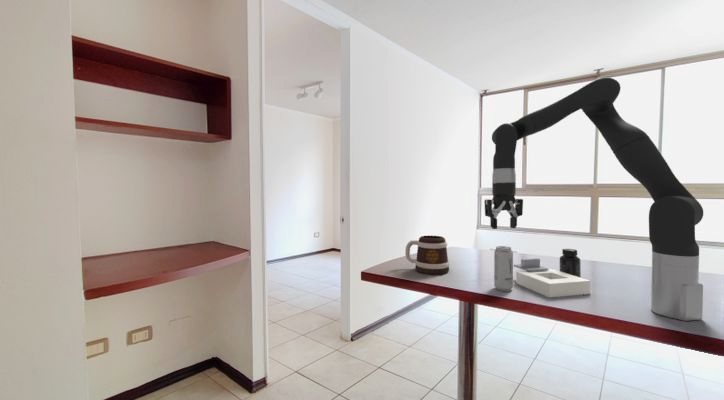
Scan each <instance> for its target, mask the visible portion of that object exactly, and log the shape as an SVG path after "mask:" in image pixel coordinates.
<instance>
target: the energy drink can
mask: <svg viewBox="0 0 724 400" xmlns="http://www.w3.org/2000/svg"><path fill="white" fill-rule="evenodd" d="M493 253H494V255H493V257H494V261H493V262H494V263H493V264H494V265H493V268H494V269H493V270H494V271H493V274H494V275H493V276H494V278H493V281H494V284H493V285H494V287H495V289H496V290H498V291H501V292H511V291H512V289H513V287H514V286H513V285H514V252H513V249H512V247H511V246H508V245H507V246H506V245H498V246H495V249H494V252H493Z"/></svg>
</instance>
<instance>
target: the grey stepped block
mask: <svg viewBox="0 0 724 400" xmlns="http://www.w3.org/2000/svg"><path fill="white" fill-rule="evenodd" d="M514 267H515V268H517V269H520V270H522V271H529V272H530V271H545V270H548V269H549V268H547V267H544V266H542V265H541V259H540V258H539V257H536V258H521V261H520V264H518V263H517V264H513V268H514Z"/></svg>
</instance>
